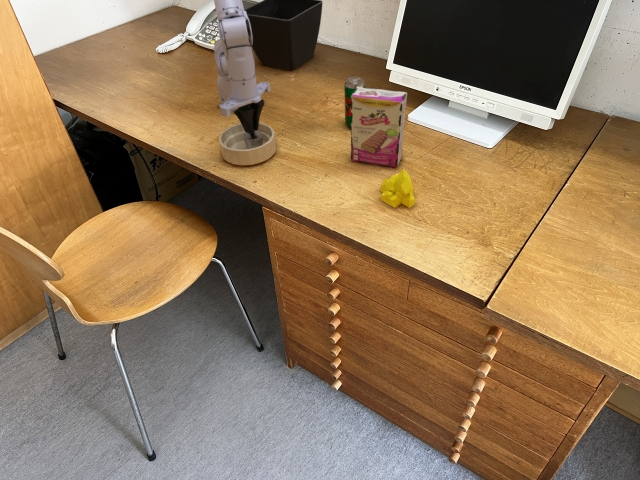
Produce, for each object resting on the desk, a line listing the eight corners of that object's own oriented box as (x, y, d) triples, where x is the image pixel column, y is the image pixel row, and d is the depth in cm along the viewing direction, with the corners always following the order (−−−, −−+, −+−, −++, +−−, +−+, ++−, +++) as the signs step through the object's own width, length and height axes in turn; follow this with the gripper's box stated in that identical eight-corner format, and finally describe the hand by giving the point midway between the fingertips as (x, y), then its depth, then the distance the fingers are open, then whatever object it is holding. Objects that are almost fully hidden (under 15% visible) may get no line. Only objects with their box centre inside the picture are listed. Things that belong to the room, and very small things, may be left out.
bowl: (211, 157, 115) (207, 140, 112) (247, 132, 123) (244, 117, 119) (251, 173, 109) (248, 156, 106) (287, 147, 116) (285, 130, 113)
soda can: (363, 130, 120) (363, 85, 112) (343, 129, 121) (342, 84, 113) (366, 120, 124) (366, 76, 116) (346, 119, 125) (346, 75, 117)
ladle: (241, 145, 115) (233, 102, 107) (253, 137, 117) (246, 94, 110) (254, 150, 113) (247, 106, 105) (266, 141, 115) (260, 98, 108)
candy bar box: (350, 162, 110) (349, 95, 99) (356, 150, 114) (356, 85, 102) (397, 169, 107) (402, 101, 96) (402, 157, 111) (407, 90, 99)
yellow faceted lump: (392, 183, 103) (394, 153, 98) (421, 200, 99) (424, 168, 93) (373, 195, 101) (374, 164, 95) (402, 212, 96) (404, 181, 91)
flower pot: (245, 67, 153) (236, 11, 142) (279, 46, 165) (273, -7, 153) (294, 77, 145) (289, 20, 134) (326, 55, 157) (324, 0, 146)
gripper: (232, 93, 98) (243, 149, 107) (277, 67, 106) (283, 122, 115) (208, 85, 101) (220, 141, 110) (253, 61, 109) (261, 114, 118)
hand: (251, 131), depth 113 cm, fingers closed on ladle
